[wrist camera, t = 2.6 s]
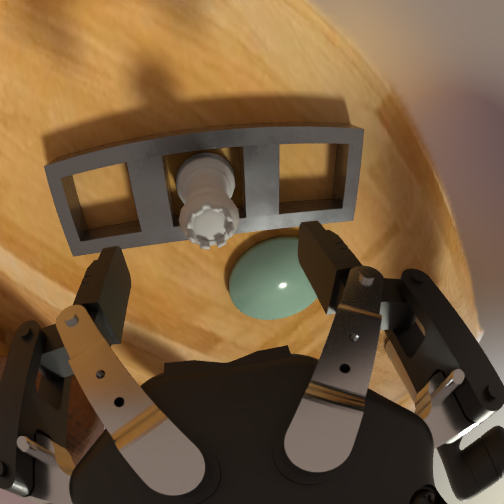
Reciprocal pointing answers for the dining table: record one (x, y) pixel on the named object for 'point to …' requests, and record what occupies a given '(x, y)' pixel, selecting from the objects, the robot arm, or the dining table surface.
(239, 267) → the green dome
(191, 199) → the rook chess piece
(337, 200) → the grey compartment tray
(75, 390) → the jug
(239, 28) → the dining table surface
